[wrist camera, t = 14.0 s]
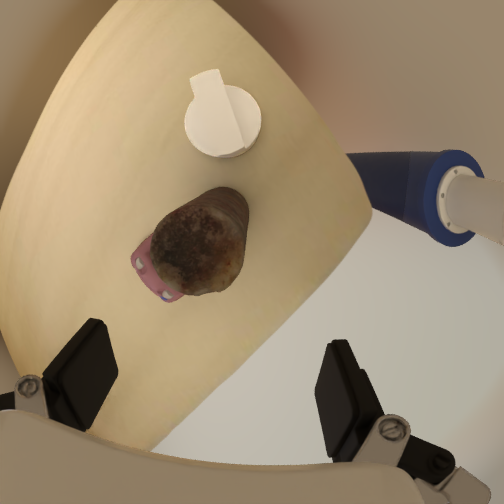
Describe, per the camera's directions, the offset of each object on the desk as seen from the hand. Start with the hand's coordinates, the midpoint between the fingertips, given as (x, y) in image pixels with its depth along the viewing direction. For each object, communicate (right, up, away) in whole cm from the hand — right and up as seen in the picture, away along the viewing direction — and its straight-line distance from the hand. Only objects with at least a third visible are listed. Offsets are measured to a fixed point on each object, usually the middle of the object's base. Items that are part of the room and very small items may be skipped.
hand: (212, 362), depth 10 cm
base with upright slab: (-2, +22, +25) cm, 33 cm away
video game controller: (-11, +3, +31) cm, 33 cm away
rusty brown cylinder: (-2, +10, +28) cm, 30 cm away
